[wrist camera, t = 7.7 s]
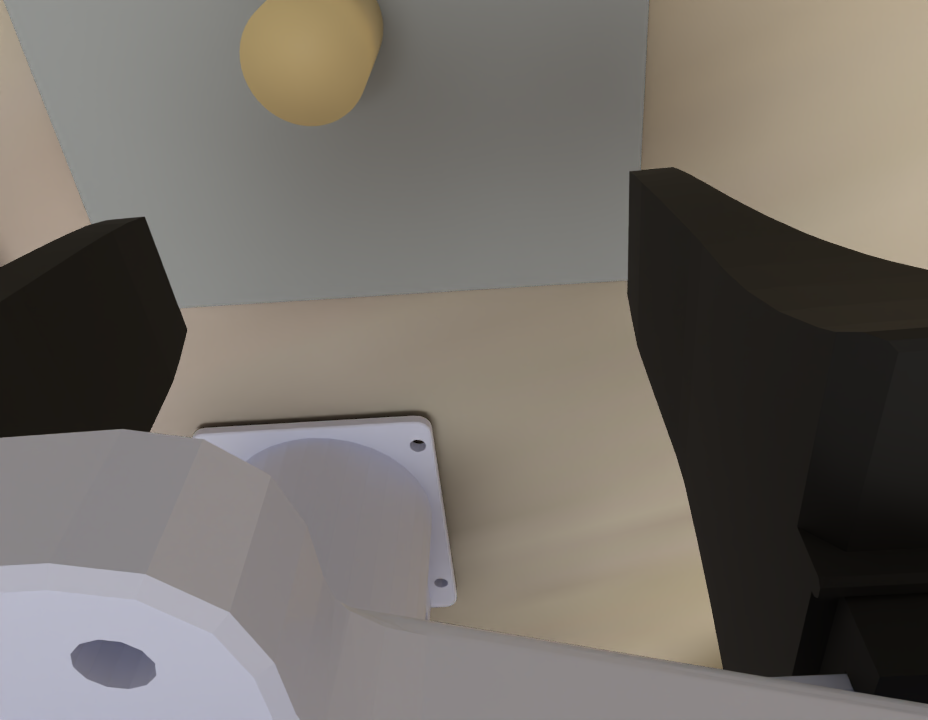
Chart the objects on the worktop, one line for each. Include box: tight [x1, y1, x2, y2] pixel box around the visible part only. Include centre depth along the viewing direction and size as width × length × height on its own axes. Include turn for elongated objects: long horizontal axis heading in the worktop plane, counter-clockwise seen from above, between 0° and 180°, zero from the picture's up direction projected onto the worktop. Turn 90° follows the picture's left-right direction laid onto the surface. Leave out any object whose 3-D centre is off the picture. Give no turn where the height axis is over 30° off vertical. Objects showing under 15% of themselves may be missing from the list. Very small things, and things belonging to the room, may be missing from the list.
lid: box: [3, 0, 649, 308], centre depth 18 cm, size 15×15×4 cm
